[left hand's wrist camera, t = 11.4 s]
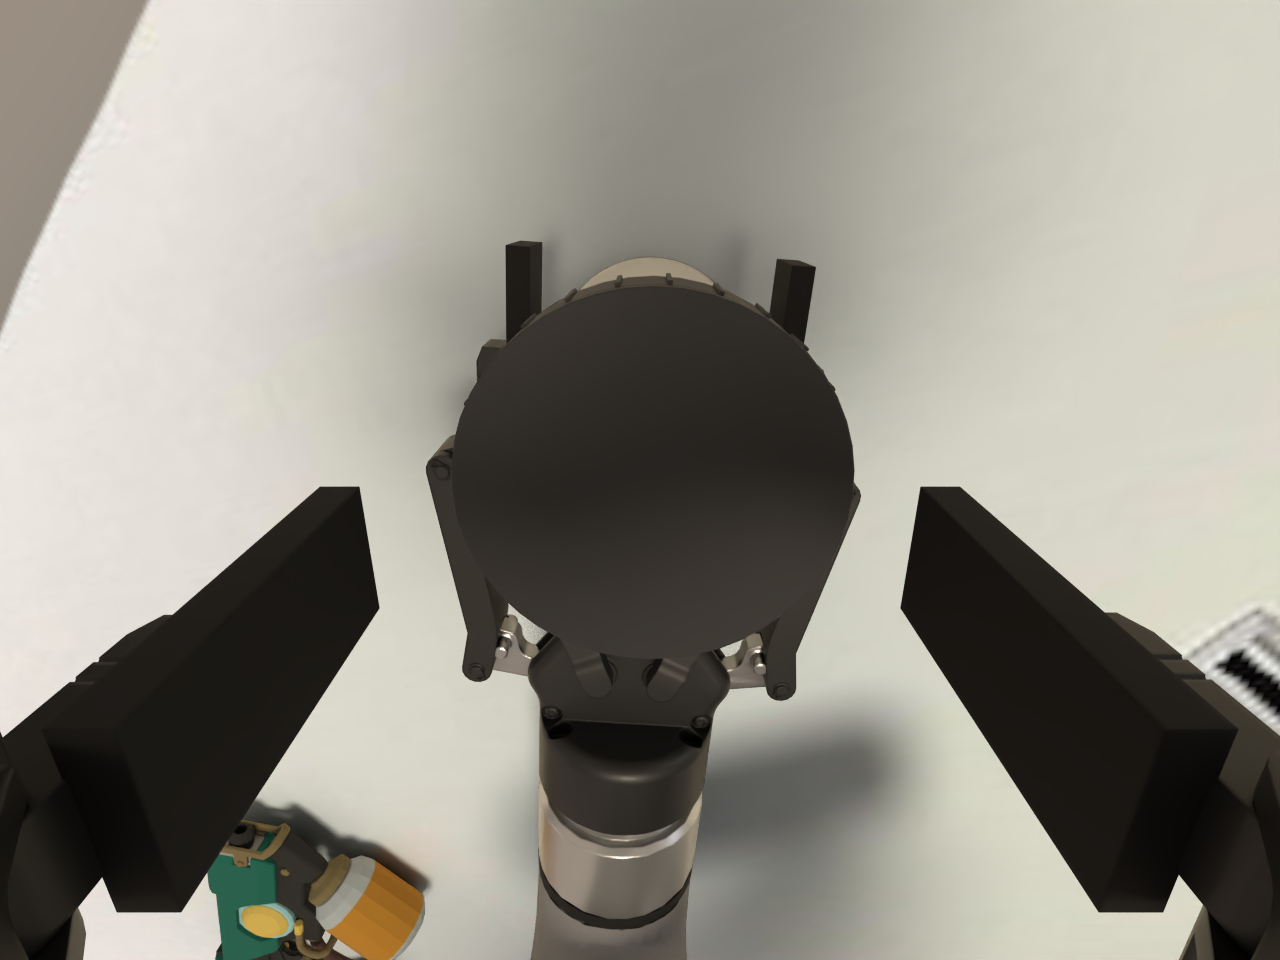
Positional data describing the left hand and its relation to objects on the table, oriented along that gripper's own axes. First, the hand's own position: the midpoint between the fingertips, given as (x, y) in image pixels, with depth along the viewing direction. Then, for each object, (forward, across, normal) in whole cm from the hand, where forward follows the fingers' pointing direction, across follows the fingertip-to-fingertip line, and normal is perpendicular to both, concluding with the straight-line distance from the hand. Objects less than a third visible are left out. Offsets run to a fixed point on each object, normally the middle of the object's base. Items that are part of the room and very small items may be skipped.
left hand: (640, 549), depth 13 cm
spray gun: (+19, +21, +36) cm, 46 cm away
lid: (+3, 0, 0) cm, 3 cm away
